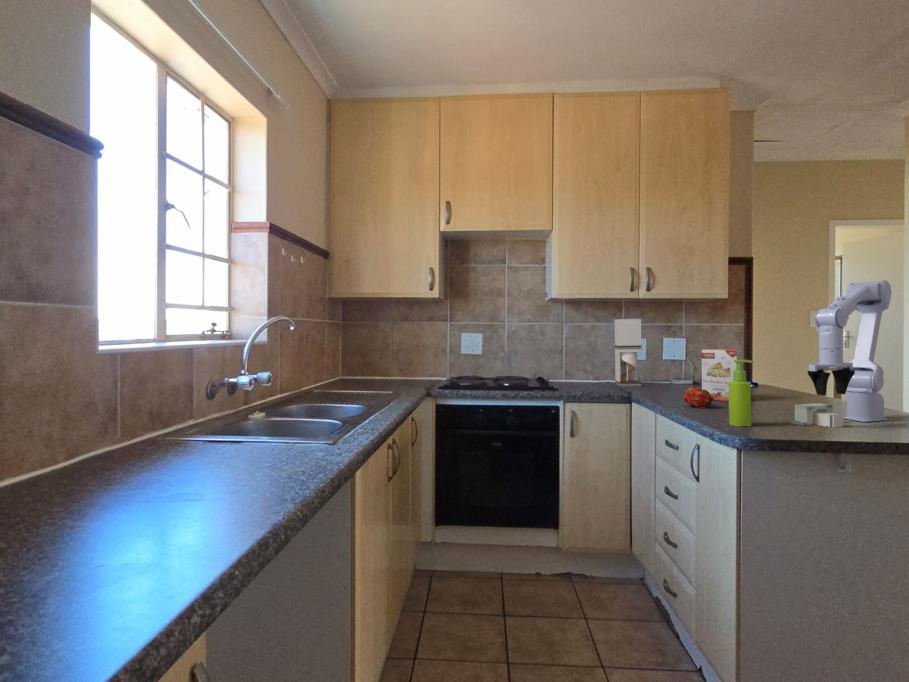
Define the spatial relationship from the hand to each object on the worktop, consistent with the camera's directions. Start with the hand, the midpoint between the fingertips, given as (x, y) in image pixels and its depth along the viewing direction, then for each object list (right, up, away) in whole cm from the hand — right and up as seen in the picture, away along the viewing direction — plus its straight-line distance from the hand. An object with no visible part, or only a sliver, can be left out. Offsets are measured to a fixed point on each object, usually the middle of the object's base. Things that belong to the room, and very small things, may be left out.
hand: (831, 394), depth 147 cm
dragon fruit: (-20, -9, +40) cm, 45 cm away
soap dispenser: (-24, -10, +5) cm, 26 cm away
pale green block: (-1, -9, +5) cm, 11 cm away
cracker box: (-2, -9, +56) cm, 57 cm away
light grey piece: (-19, -8, +117) cm, 118 cm away
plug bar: (0, -9, +3) cm, 10 cm away
